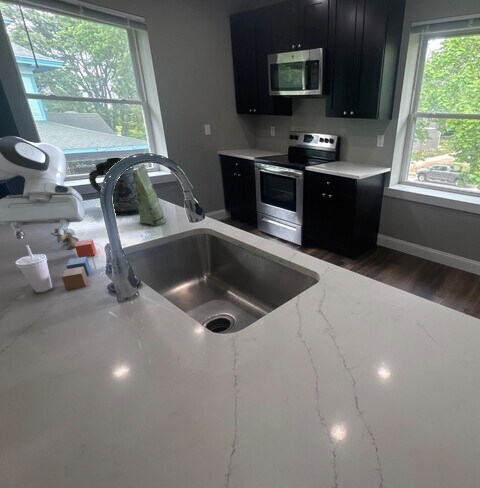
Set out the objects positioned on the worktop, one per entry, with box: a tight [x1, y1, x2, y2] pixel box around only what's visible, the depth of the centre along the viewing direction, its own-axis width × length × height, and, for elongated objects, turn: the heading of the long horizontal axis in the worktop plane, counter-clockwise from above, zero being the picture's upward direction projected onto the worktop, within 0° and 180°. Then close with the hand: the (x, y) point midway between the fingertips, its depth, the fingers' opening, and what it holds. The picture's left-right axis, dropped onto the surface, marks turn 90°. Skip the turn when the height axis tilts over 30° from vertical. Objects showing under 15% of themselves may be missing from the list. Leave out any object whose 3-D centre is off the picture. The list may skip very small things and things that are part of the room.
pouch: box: [133, 163, 167, 227], centre depth 128 cm, size 11×12×25 cm
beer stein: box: [88, 157, 140, 217], centre depth 139 cm, size 16×19×25 cm
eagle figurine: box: [50, 228, 80, 250], centre depth 109 cm, size 8×7×9 cm
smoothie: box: [14, 244, 53, 293], centre depth 83 cm, size 6×6×14 cm
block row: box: [61, 238, 97, 291], centre depth 95 cm, size 4×26×4 cm, turn 29°
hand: (39, 236), depth 86 cm, fingers open, 8 cm apart
